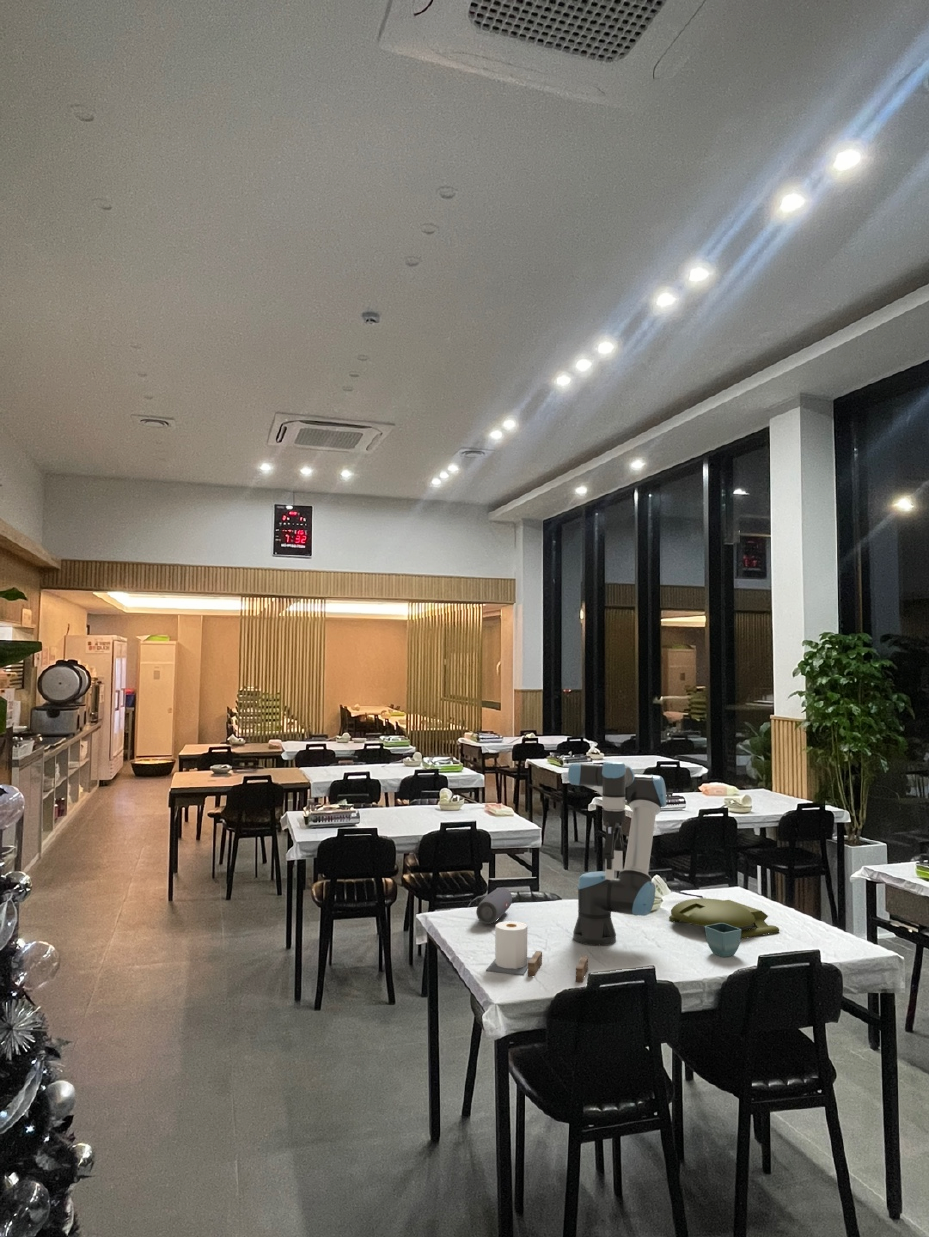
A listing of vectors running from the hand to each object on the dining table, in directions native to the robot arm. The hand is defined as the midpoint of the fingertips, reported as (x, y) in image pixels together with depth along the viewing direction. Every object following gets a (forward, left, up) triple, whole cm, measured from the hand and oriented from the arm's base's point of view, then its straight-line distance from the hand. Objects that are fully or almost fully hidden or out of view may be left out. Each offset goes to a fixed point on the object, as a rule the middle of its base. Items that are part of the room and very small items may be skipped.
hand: (614, 874), depth 267 cm
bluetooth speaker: (-37, -50, -29) cm, 69 cm away
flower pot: (-23, +34, -29) cm, 50 cm away
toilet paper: (+11, -32, -28) cm, 44 cm away
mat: (+11, -32, -29) cm, 44 cm away
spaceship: (-56, +32, -29) cm, 71 cm away
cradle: (+13, -16, -29) cm, 35 cm away
